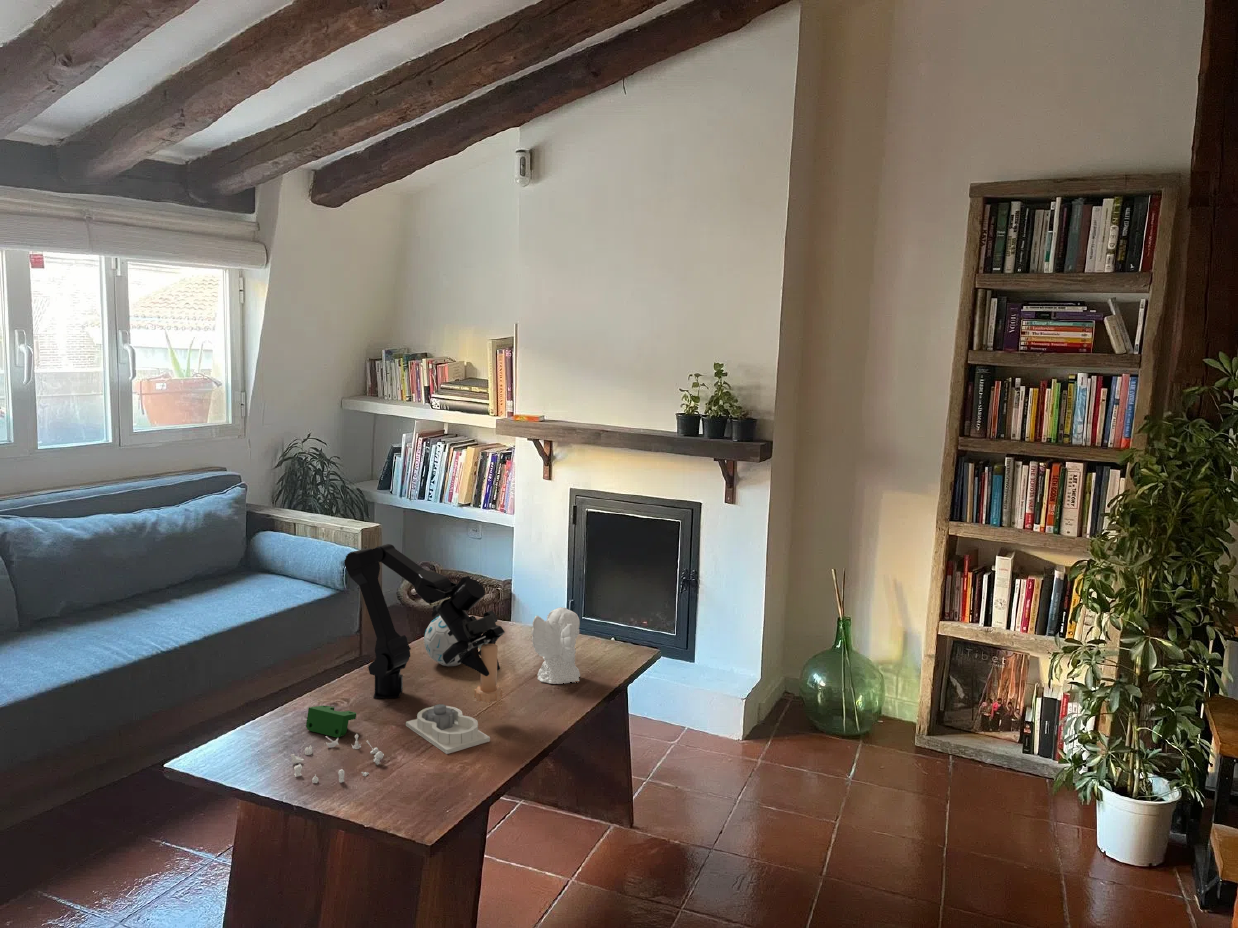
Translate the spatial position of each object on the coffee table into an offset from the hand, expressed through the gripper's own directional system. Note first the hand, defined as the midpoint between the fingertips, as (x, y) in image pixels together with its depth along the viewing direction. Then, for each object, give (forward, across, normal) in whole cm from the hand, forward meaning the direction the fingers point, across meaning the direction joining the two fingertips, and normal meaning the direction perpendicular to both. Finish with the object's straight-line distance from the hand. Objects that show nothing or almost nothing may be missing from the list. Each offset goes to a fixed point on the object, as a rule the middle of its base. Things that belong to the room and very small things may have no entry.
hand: (493, 672), depth 229 cm
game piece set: (-2, -36, +21) cm, 42 cm away
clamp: (-11, -24, +30) cm, 40 cm away
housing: (+5, -11, +13) cm, 18 cm away
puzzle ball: (-15, +26, +33) cm, 45 cm away
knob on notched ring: (+4, 0, +6) cm, 7 cm away
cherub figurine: (+8, +34, +10) cm, 36 cm away
